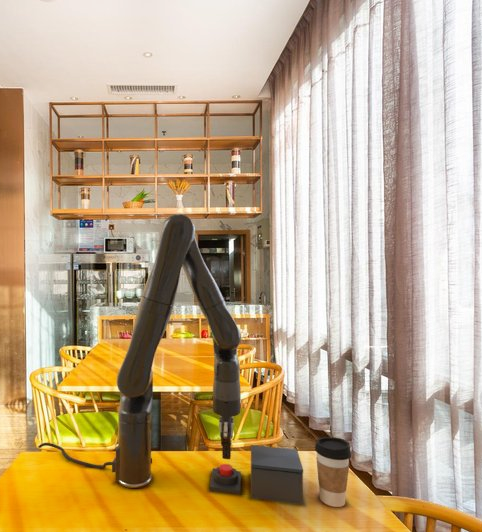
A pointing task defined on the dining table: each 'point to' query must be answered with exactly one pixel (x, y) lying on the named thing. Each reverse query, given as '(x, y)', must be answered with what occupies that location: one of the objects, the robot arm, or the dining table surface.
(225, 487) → the block
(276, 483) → the dark grey lidded box
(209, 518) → the dining table surface
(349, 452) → the coffee cup
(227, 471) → the button
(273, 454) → the lid
